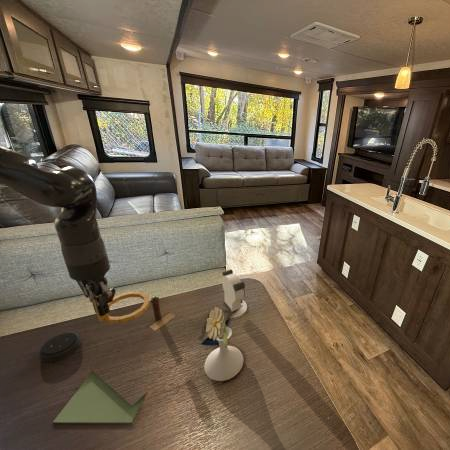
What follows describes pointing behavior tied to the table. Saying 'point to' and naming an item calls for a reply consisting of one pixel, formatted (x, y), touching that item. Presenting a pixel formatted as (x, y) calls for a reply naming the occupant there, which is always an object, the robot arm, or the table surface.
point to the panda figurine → (234, 293)
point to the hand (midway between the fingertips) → (103, 312)
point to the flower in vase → (221, 350)
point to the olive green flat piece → (98, 404)
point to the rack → (159, 315)
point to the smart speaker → (59, 347)
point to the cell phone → (211, 341)
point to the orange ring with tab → (130, 316)
